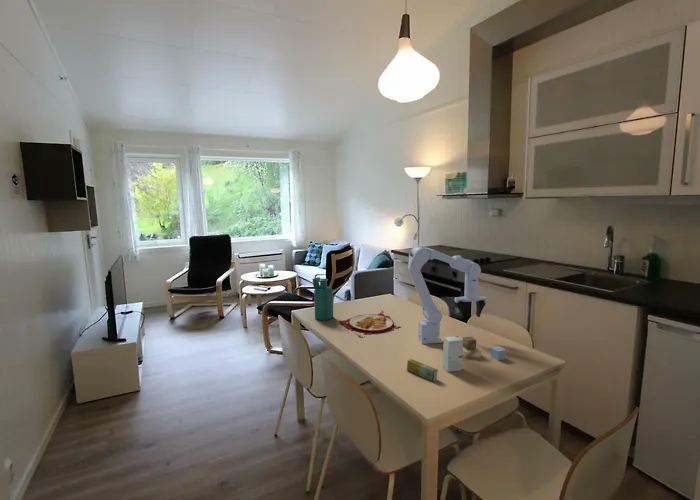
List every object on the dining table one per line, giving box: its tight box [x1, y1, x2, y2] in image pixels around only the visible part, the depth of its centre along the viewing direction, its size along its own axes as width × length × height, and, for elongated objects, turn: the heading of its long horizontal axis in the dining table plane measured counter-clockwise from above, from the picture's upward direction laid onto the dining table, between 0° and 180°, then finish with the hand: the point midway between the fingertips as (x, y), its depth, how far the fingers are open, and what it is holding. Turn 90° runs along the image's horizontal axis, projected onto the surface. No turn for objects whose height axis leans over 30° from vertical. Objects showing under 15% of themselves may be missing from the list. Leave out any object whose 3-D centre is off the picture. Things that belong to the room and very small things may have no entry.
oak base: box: [462, 346, 482, 359], centre depth 150 cm, size 7×7×3 cm
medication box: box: [406, 358, 439, 383], centre depth 132 cm, size 12×3×4 cm, turn 44°
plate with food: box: [338, 309, 402, 338], centre depth 185 cm, size 25×26×4 cm
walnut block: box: [462, 336, 477, 350], centre depth 150 cm, size 4×4×4 cm
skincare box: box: [442, 335, 463, 373], centre depth 136 cm, size 6×4×12 cm
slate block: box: [490, 345, 507, 362], centre depth 146 cm, size 4×4×4 cm
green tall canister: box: [312, 276, 334, 322], centre depth 196 cm, size 10×8×22 cm
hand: (470, 316), depth 165 cm, fingers open, 7 cm apart
